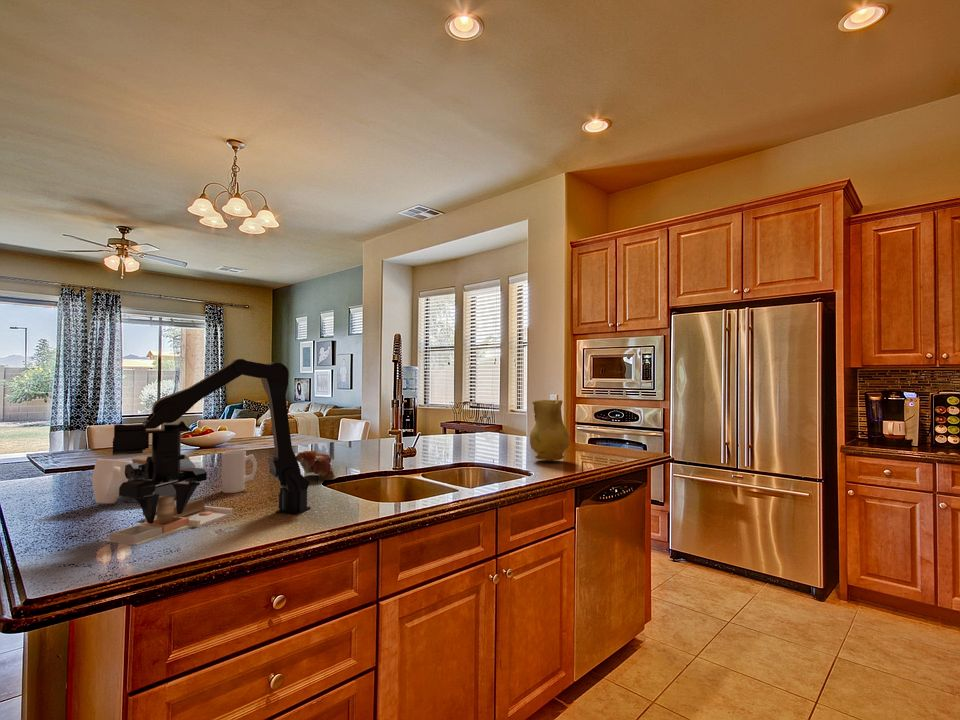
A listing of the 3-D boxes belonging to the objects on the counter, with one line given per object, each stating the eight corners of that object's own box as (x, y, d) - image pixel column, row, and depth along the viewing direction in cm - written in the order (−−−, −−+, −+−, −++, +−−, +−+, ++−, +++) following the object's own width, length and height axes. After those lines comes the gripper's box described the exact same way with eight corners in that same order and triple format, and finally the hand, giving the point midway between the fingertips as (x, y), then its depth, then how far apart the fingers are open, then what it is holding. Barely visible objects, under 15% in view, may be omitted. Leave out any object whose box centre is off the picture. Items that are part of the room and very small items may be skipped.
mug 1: (85, 500, 137) (95, 458, 139) (121, 500, 143) (130, 459, 145) (89, 506, 128) (99, 460, 131) (128, 506, 134) (137, 462, 136)
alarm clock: (195, 485, 163) (195, 447, 164) (196, 499, 146) (196, 457, 146) (123, 492, 154) (123, 452, 154) (115, 508, 136) (116, 463, 137)
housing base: (232, 516, 129) (232, 508, 129) (197, 529, 119) (197, 520, 119) (182, 511, 133) (182, 503, 134) (144, 523, 123) (144, 515, 123)
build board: (192, 528, 119) (192, 518, 119) (137, 549, 105) (137, 537, 106) (162, 525, 121) (162, 515, 121) (105, 544, 108) (105, 533, 108)
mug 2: (221, 494, 152) (222, 454, 152) (220, 489, 157) (221, 451, 158) (257, 490, 156) (258, 452, 157) (255, 486, 162) (256, 449, 163)
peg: (177, 525, 118) (177, 495, 118) (164, 530, 115) (165, 499, 115) (165, 524, 119) (166, 494, 119) (152, 528, 116) (153, 498, 116)
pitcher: (528, 460, 211) (528, 401, 211) (531, 453, 229) (531, 398, 229) (569, 462, 208) (570, 401, 208) (569, 454, 226) (569, 399, 227)
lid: (204, 509, 130) (204, 498, 130) (174, 518, 122) (175, 507, 122) (173, 506, 133) (174, 495, 133) (142, 515, 124) (142, 504, 124)
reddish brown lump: (342, 478, 175) (343, 449, 175) (308, 484, 166) (308, 454, 166) (321, 471, 186) (321, 444, 186) (287, 476, 177) (288, 448, 177)
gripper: (173, 444, 128) (172, 505, 128) (100, 456, 110) (99, 527, 110) (208, 446, 125) (207, 508, 125) (139, 458, 107) (138, 532, 107)
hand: (165, 518), depth 117 cm, fingers open, 7 cm apart
